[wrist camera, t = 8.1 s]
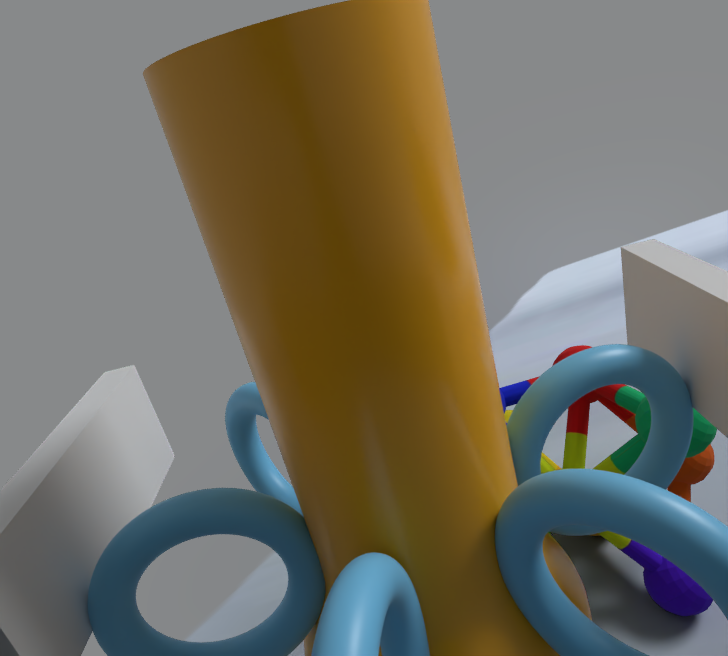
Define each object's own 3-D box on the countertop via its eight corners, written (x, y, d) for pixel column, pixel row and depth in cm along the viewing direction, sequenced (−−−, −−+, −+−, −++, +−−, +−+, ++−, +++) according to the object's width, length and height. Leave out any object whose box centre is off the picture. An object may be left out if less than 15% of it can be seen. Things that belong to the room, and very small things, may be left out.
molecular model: (462, 577, 30) (427, 394, 26) (505, 492, 36) (481, 328, 31) (710, 651, 24) (718, 426, 20) (716, 534, 30) (724, 337, 25)
